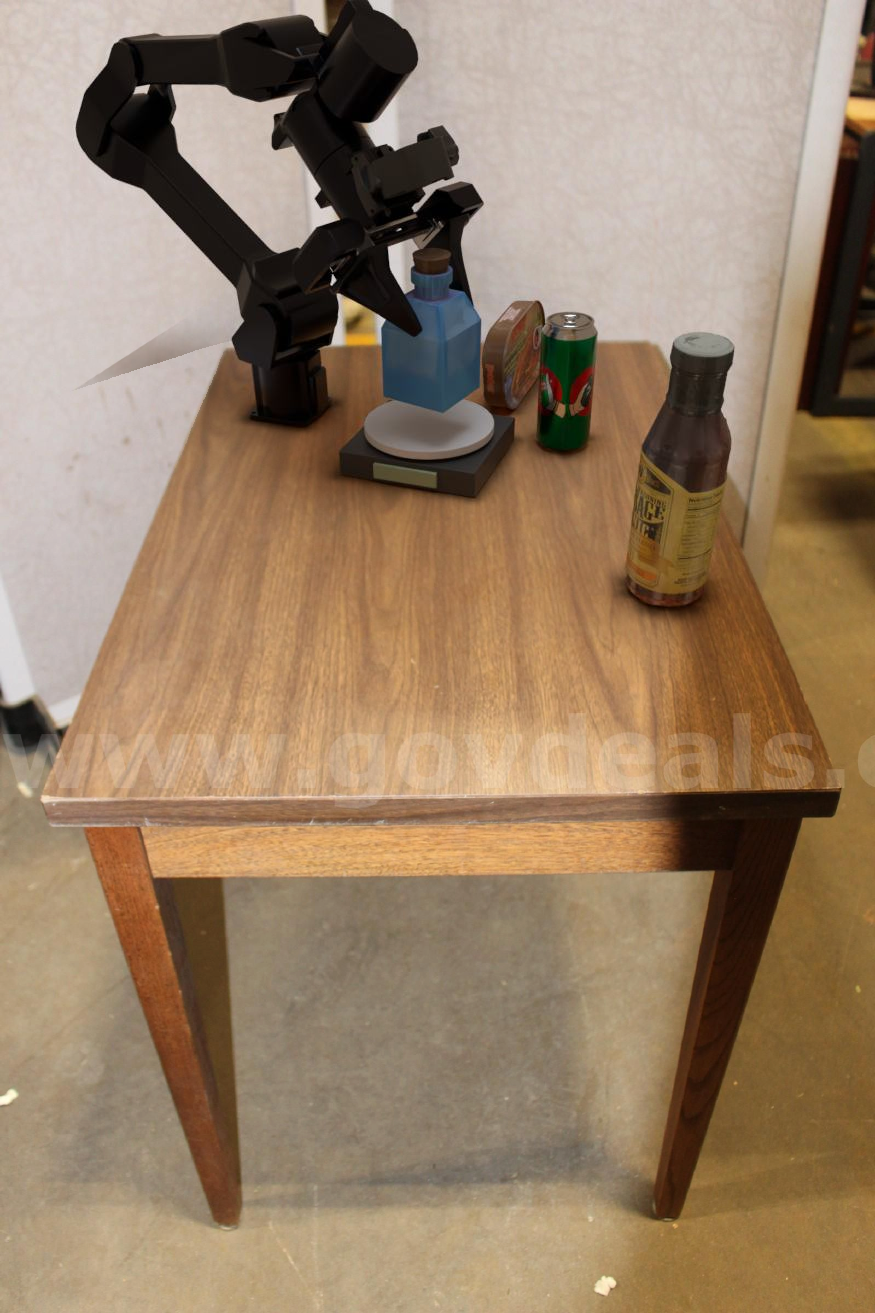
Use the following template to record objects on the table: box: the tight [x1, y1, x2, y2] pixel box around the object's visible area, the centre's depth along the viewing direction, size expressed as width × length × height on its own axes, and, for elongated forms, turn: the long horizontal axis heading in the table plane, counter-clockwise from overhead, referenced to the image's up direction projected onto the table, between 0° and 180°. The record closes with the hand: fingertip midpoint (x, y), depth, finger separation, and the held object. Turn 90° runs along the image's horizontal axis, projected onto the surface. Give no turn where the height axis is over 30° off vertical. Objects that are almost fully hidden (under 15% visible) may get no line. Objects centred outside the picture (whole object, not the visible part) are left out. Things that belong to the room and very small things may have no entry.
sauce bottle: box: [625, 331, 736, 608], centre depth 76 cm, size 6×6×20 cm
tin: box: [481, 299, 546, 410], centre depth 110 cm, size 15×3×8 cm, turn 160°
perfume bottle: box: [380, 248, 482, 413], centre depth 91 cm, size 6×6×12 cm
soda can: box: [535, 311, 599, 453], centre depth 99 cm, size 5×5×12 cm
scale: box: [338, 398, 516, 498], centre depth 99 cm, size 13×12×4 cm
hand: (444, 322), depth 90 cm, fingers closed on perfume bottle, 6 cm apart
